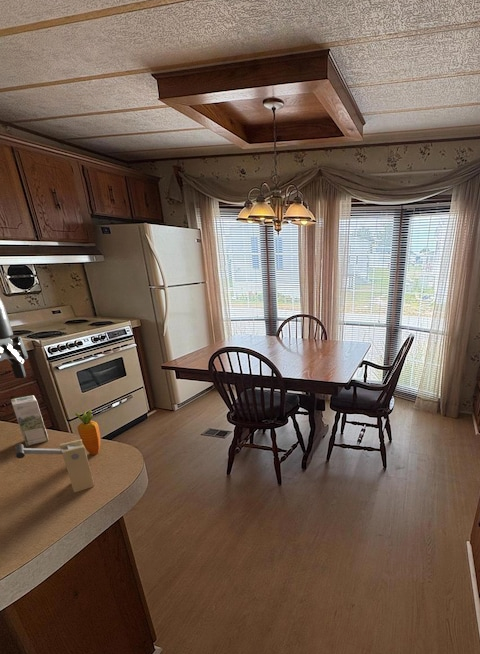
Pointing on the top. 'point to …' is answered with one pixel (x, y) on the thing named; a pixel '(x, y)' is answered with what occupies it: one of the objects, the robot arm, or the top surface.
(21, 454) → the lever
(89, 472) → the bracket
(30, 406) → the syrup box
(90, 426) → the carrot
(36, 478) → the top surface
